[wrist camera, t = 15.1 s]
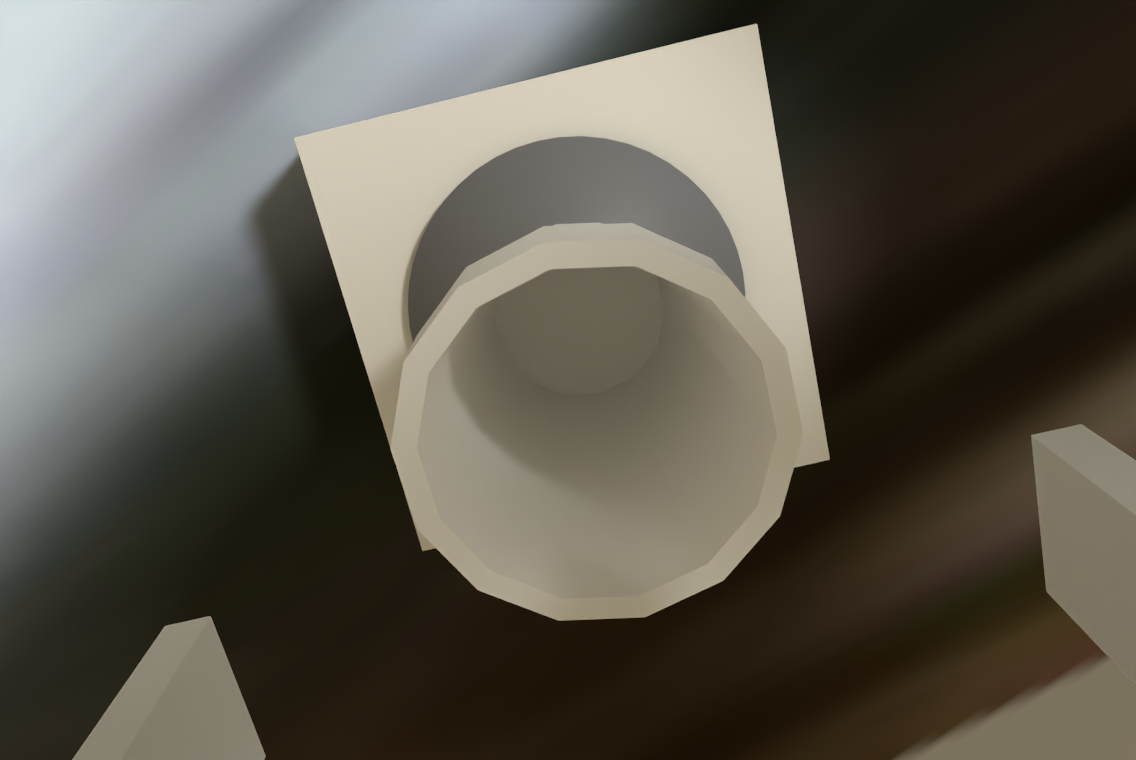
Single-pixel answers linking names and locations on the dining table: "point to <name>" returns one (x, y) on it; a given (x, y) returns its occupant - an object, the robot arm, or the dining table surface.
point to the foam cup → (595, 423)
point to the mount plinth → (564, 192)
